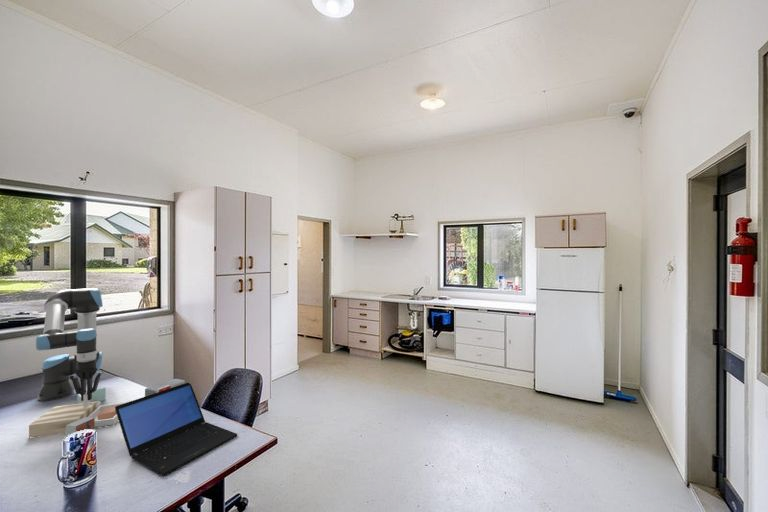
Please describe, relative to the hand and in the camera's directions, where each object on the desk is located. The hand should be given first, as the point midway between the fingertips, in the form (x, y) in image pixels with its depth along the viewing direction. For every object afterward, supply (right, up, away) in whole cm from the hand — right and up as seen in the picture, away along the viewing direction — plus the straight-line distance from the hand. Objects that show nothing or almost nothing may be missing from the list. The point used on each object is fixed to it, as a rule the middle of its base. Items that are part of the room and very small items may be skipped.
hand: (86, 406), depth 168 cm
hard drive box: (+41, -8, -2) cm, 42 cm away
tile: (+9, -3, +3) cm, 10 cm away
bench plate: (-8, -8, -3) cm, 11 cm away
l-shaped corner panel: (-12, -8, +18) cm, 23 cm away
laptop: (+58, -8, -19) cm, 62 cm away
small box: (+16, -8, -21) cm, 27 cm away
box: (+8, -8, +3) cm, 11 cm away
